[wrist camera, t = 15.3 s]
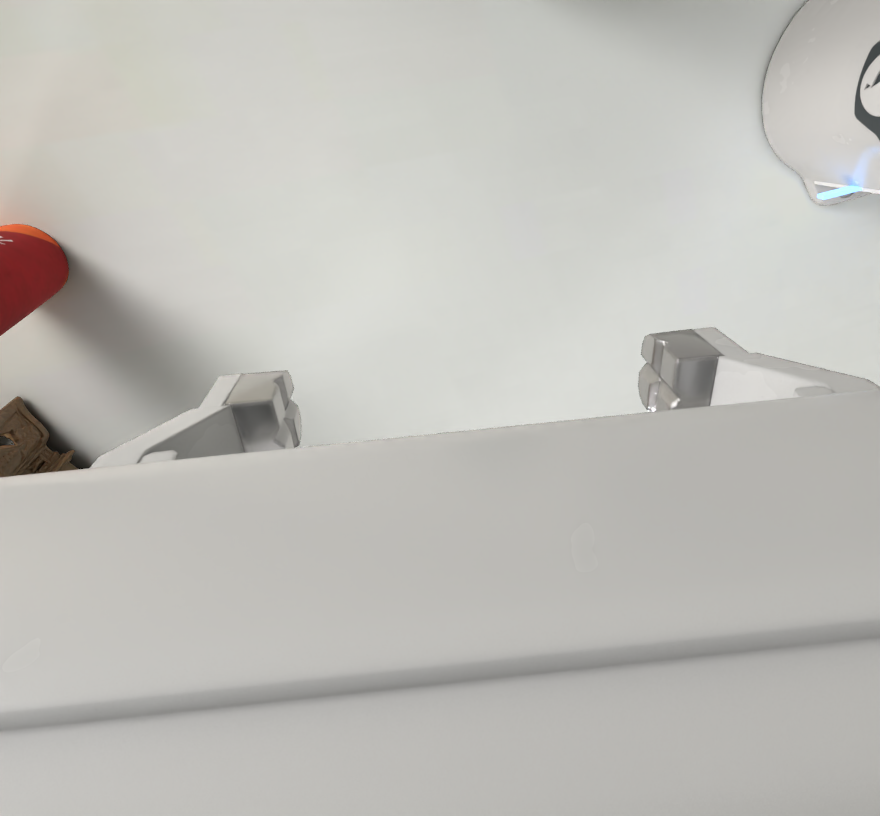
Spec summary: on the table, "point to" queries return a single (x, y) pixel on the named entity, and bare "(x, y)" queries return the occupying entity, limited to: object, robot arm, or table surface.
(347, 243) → the table surface
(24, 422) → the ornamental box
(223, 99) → the table surface
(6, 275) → the coffee cup
